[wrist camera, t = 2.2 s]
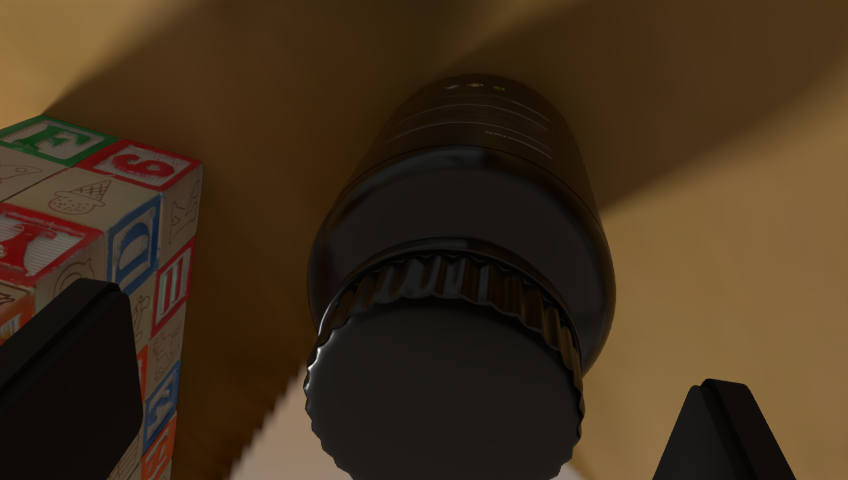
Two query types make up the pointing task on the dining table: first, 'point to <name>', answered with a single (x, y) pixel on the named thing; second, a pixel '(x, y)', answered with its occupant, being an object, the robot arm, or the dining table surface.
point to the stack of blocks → (103, 251)
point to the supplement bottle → (459, 292)
